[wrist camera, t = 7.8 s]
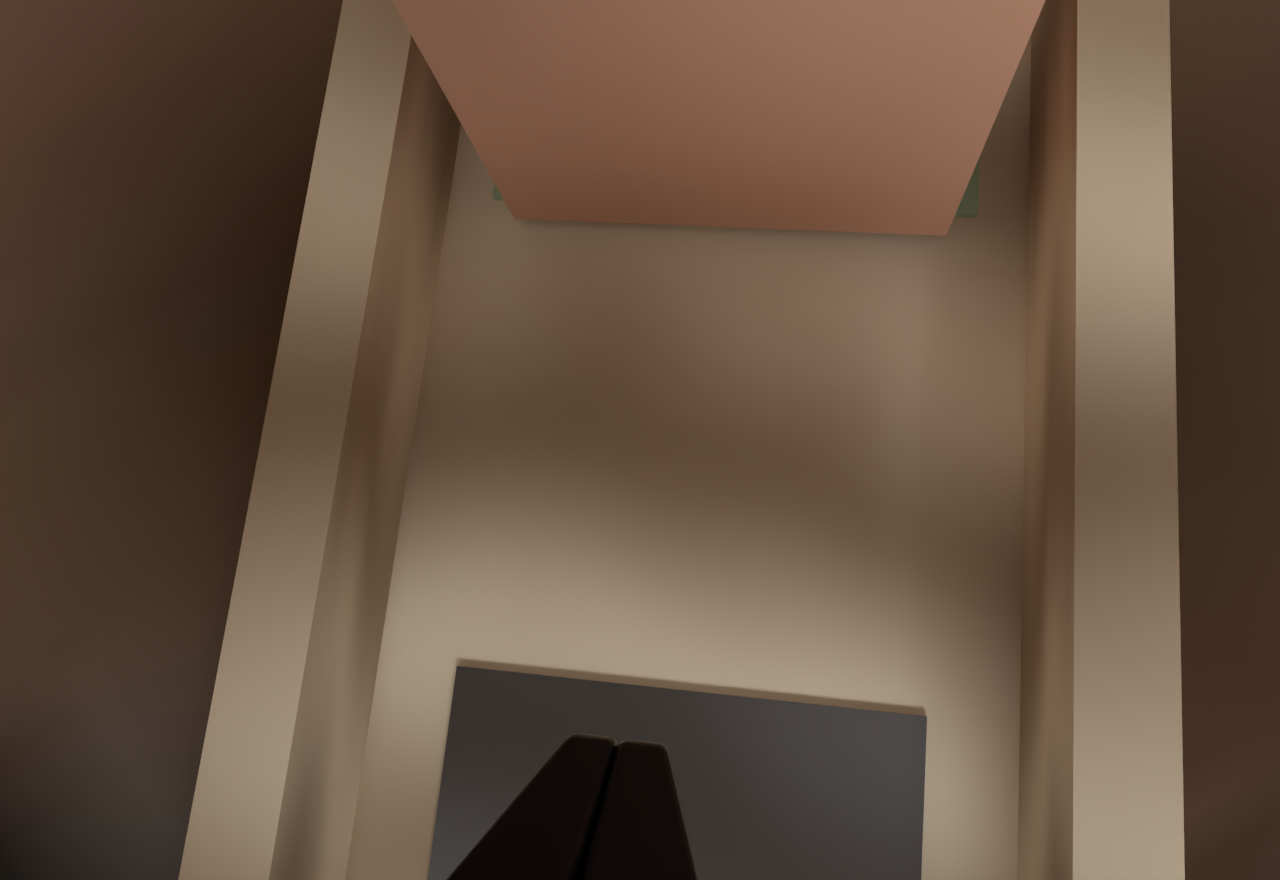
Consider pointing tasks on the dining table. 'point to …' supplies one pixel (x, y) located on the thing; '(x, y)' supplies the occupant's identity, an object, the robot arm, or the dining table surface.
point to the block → (728, 105)
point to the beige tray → (720, 505)
